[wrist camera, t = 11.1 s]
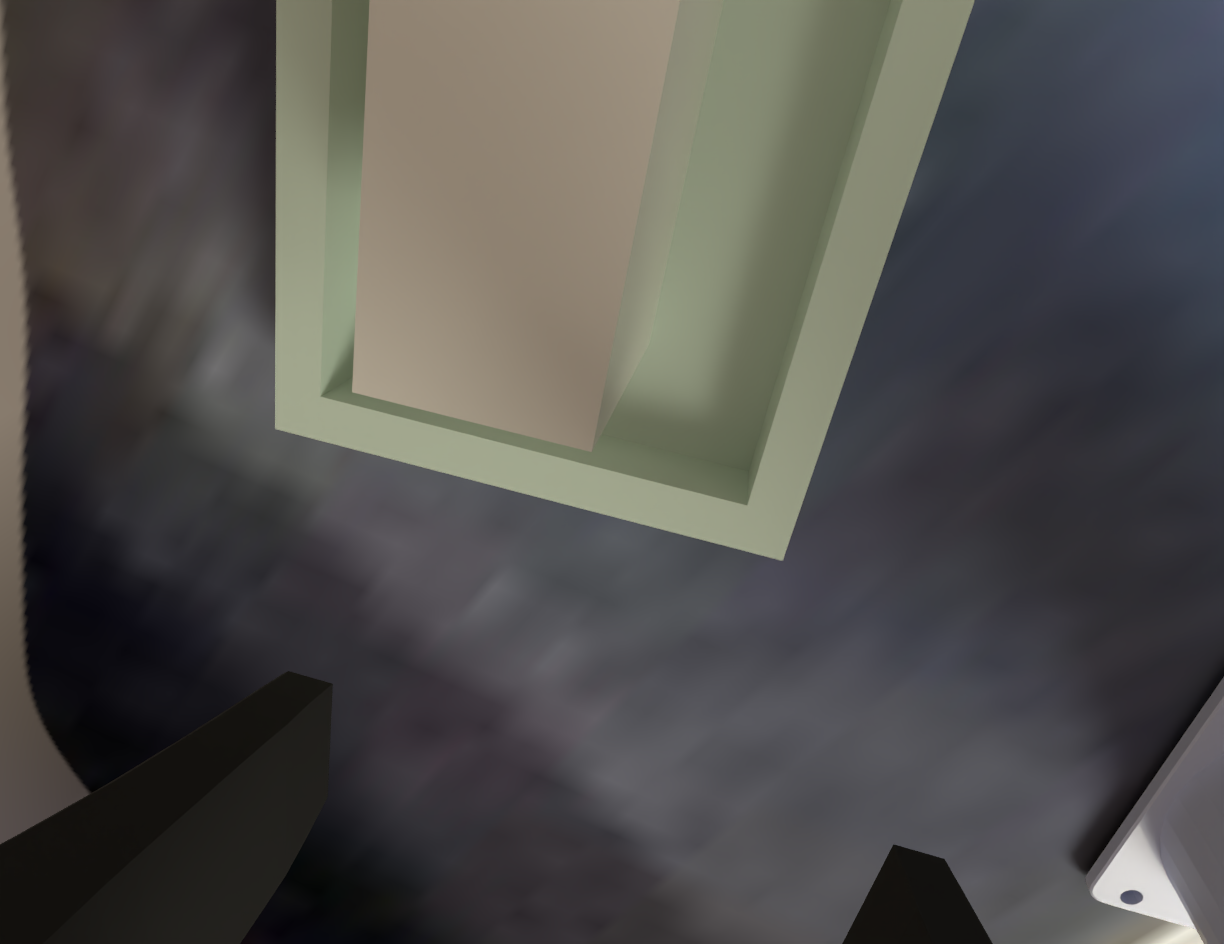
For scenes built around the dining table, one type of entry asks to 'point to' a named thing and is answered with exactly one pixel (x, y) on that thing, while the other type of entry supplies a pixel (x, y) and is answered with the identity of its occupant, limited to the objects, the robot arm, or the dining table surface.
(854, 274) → the tray
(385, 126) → the beige rectangular block
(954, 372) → the dining table surface
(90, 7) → the dining table surface
